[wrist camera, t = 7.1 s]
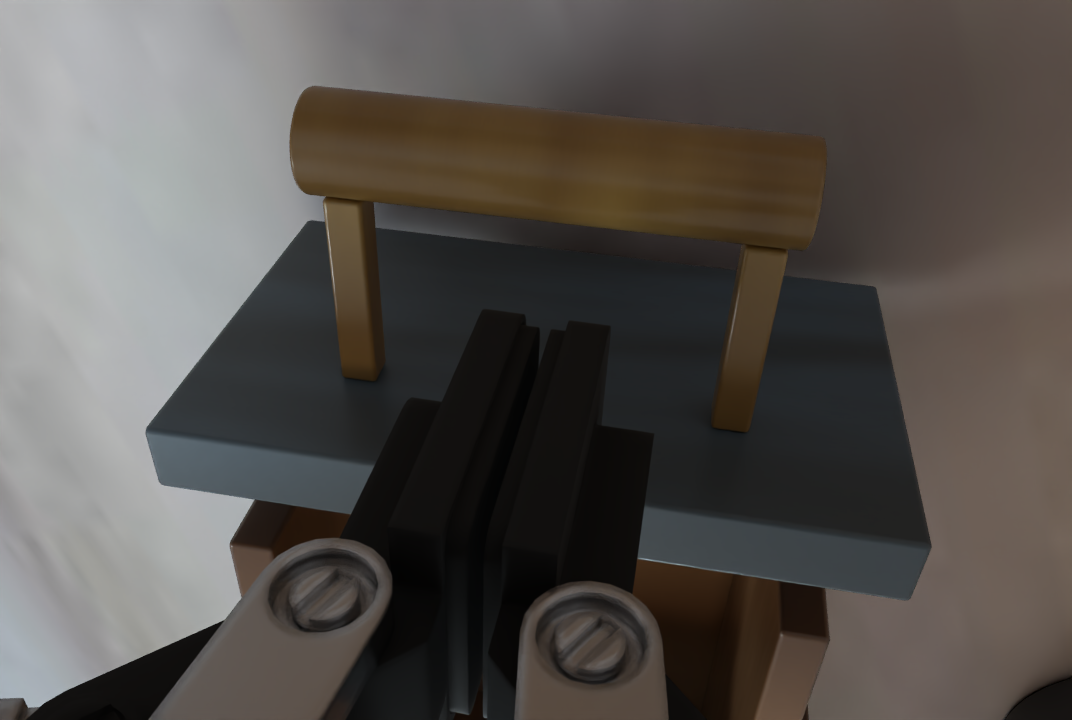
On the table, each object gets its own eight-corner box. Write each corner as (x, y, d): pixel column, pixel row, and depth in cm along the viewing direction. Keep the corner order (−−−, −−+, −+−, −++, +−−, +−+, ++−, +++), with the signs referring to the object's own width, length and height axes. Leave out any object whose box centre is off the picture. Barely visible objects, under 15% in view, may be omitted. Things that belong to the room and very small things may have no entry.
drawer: (278, -19, 17) (58, 133, 11) (949, 40, 16) (1061, 242, 10) (360, 650, 28) (270, 884, 23) (750, 717, 27) (752, 983, 22)
